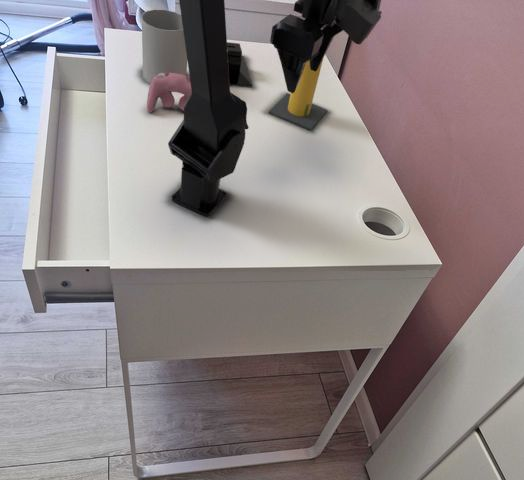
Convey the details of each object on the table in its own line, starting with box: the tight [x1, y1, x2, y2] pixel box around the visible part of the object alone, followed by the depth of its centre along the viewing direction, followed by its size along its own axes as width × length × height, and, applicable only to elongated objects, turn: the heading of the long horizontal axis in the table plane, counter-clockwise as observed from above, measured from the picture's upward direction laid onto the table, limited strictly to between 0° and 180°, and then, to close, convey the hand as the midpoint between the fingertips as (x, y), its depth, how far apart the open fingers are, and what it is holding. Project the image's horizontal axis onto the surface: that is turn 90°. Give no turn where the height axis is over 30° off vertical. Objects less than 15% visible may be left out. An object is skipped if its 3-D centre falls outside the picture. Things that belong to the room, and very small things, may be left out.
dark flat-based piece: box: [227, 41, 253, 88], centre depth 101 cm, size 12×7×5 cm, turn 9°
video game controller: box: [146, 73, 191, 113], centre depth 89 cm, size 10×5×7 cm, turn 84°
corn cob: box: [288, 59, 324, 117], centre depth 92 cm, size 5×4×12 cm
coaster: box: [268, 92, 328, 132], centre depth 97 cm, size 9×9×1 cm
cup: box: [141, 9, 188, 84], centre depth 93 cm, size 8×8×10 cm
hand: (302, 80), depth 78 cm, fingers open, 9 cm apart
